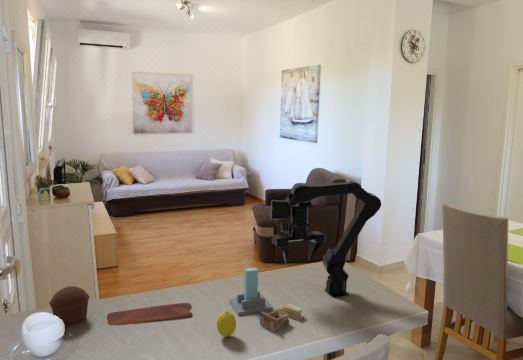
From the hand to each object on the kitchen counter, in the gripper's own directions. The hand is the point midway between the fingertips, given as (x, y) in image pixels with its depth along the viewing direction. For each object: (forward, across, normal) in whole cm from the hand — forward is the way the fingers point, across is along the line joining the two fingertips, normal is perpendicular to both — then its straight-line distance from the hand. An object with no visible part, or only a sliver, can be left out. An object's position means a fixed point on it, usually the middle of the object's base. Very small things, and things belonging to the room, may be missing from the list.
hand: (297, 261), depth 150 cm
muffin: (+12, +75, -5) cm, 76 cm away
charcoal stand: (+12, +19, +4) cm, 23 cm away
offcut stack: (+12, +9, +14) cm, 20 cm away
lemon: (+12, +32, +20) cm, 40 cm away
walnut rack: (+12, +16, +18) cm, 27 cm away
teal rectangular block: (+11, +19, +4) cm, 22 cm away
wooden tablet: (+13, +51, -1) cm, 53 cm away
